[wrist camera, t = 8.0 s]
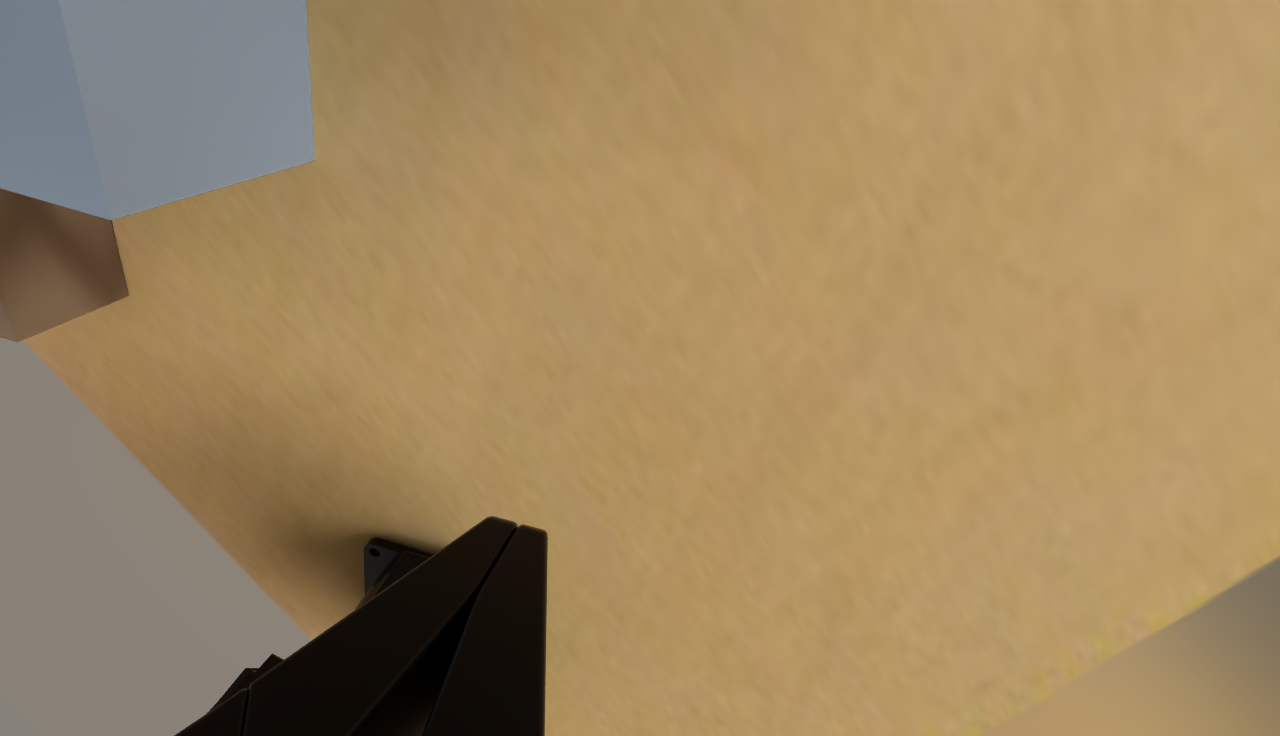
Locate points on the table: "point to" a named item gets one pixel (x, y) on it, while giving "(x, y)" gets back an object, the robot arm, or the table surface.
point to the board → (53, 265)
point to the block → (150, 98)
